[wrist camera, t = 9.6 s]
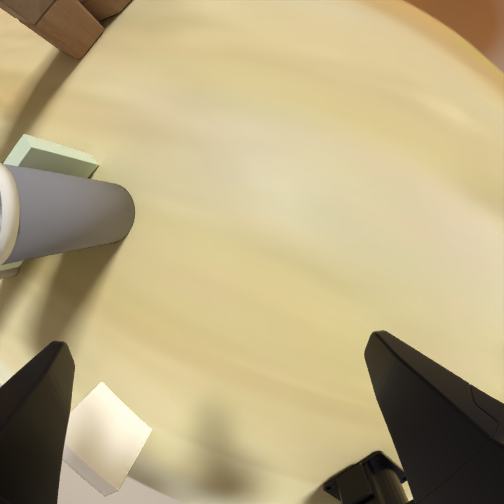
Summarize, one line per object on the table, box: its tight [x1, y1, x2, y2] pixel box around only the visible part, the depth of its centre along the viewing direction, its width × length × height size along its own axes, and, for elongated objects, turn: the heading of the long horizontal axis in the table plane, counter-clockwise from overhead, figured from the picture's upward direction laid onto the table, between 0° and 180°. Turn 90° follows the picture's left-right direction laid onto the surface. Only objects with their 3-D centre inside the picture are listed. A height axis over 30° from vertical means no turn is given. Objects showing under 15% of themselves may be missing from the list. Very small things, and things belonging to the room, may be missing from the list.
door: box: [0, 134, 99, 279], centre depth 18 cm, size 14×3×8 cm, turn 131°
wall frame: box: [62, 382, 152, 496], centre depth 19 cm, size 26×2×8 cm, turn 43°
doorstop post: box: [0, 163, 135, 265], centre depth 15 cm, size 4×4×13 cm
